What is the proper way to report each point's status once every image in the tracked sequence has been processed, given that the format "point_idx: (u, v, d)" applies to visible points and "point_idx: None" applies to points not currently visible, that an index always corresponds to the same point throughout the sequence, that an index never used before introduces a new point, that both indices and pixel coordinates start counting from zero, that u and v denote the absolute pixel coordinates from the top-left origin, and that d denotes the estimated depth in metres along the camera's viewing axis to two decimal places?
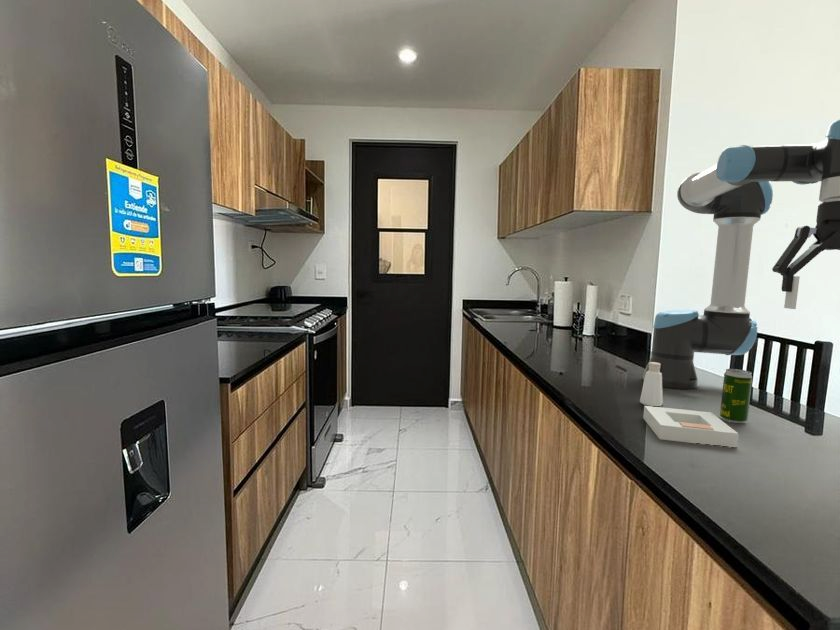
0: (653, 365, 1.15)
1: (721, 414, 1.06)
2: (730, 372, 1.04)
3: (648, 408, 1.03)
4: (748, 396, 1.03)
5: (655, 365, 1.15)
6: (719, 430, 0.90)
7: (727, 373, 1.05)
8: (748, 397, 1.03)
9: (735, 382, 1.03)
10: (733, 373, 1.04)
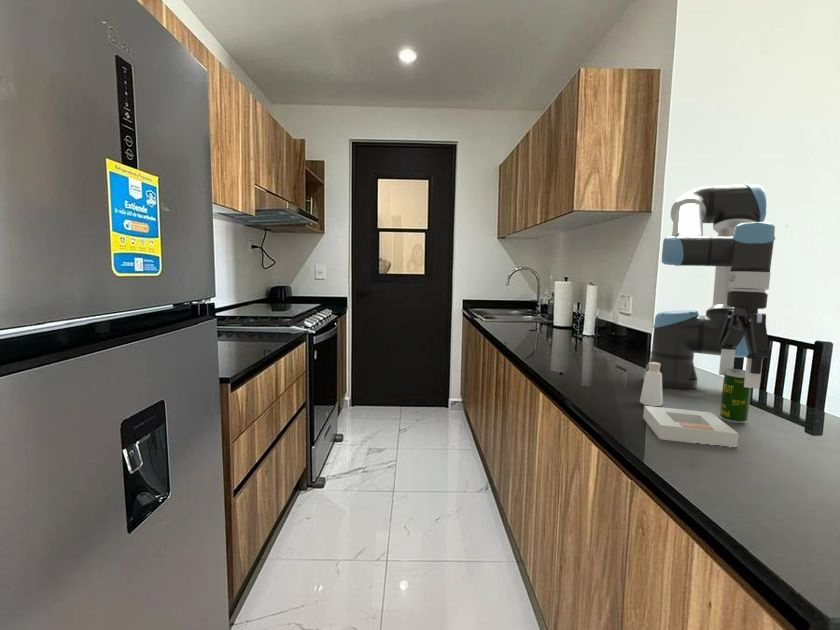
0: (653, 365, 1.15)
1: (721, 414, 1.06)
2: (730, 372, 1.04)
3: (648, 408, 1.03)
4: (748, 396, 1.03)
5: (655, 365, 1.15)
6: (719, 430, 0.90)
7: (727, 373, 1.05)
8: (748, 397, 1.03)
9: (735, 382, 1.03)
10: (733, 373, 1.04)
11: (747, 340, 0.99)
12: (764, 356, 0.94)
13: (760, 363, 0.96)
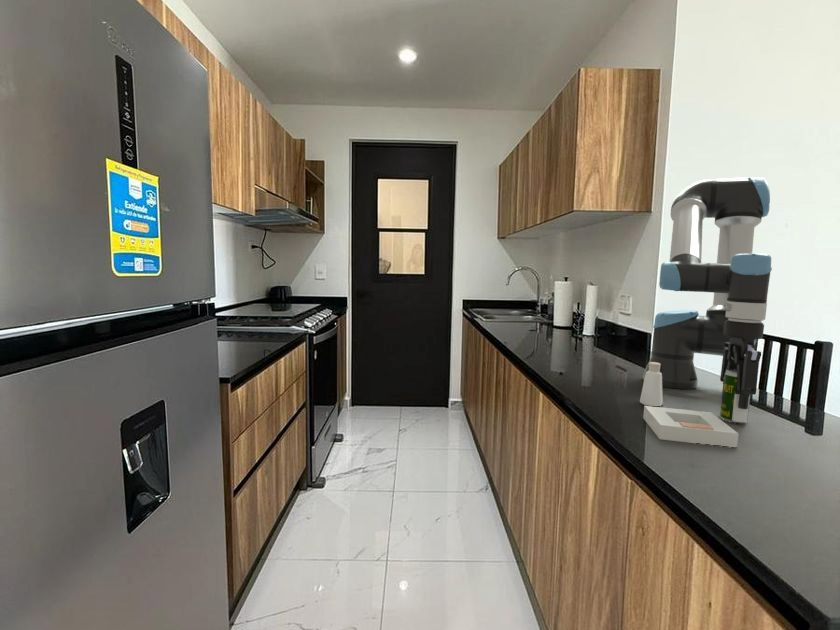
0: (653, 365, 1.15)
1: (721, 414, 1.06)
2: (730, 372, 1.04)
3: (648, 408, 1.03)
4: None
5: (655, 365, 1.15)
6: (719, 430, 0.90)
7: (727, 373, 1.05)
8: None
9: (735, 382, 1.03)
10: (733, 373, 1.04)
11: (738, 374, 1.02)
12: (751, 393, 0.99)
13: (747, 399, 1.01)
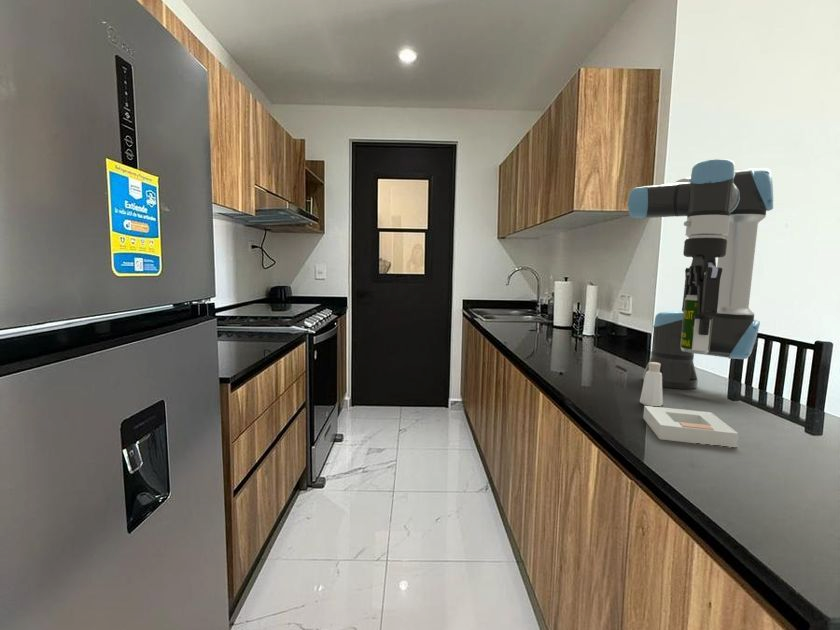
0: (653, 365, 1.15)
1: (681, 344, 0.95)
2: (690, 296, 0.93)
3: (648, 408, 1.03)
4: None
5: (655, 365, 1.15)
6: (719, 430, 0.90)
7: (687, 298, 0.94)
8: None
9: (695, 306, 0.92)
10: (693, 297, 0.93)
11: (698, 297, 0.91)
12: (711, 315, 0.88)
13: (708, 323, 0.90)
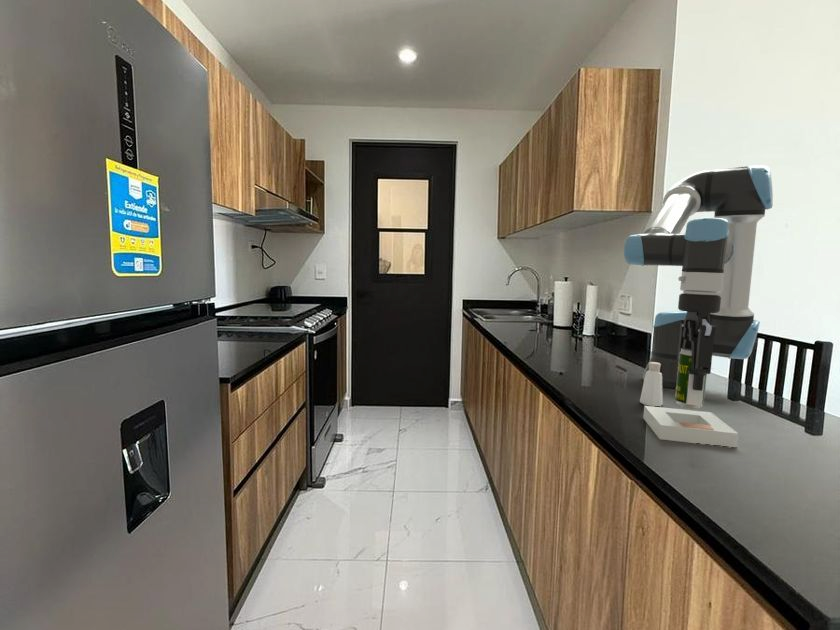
0: (653, 365, 1.15)
1: (676, 397, 0.96)
2: (685, 351, 0.94)
3: (648, 408, 1.03)
4: None
5: (655, 365, 1.15)
6: (719, 430, 0.90)
7: (682, 352, 0.95)
8: None
9: (689, 361, 0.93)
10: (688, 352, 0.94)
11: (693, 352, 0.92)
12: (705, 372, 0.89)
13: (702, 379, 0.91)
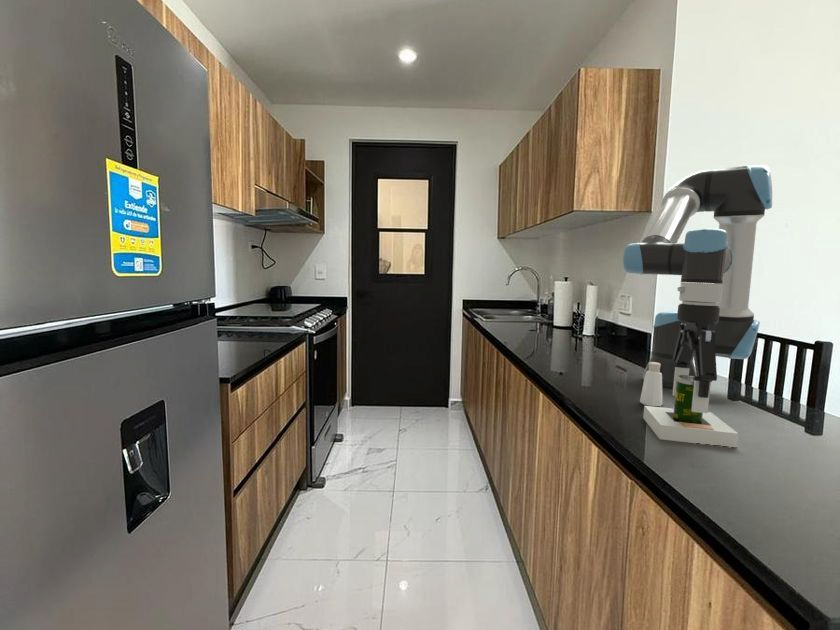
0: (653, 365, 1.15)
1: None
2: (681, 379, 0.95)
3: (648, 408, 1.03)
4: None
5: (655, 365, 1.15)
6: (719, 430, 0.90)
7: (679, 380, 0.96)
8: None
9: (686, 390, 0.94)
10: (684, 380, 0.94)
11: (695, 360, 0.90)
12: (711, 379, 0.86)
13: (707, 386, 0.88)
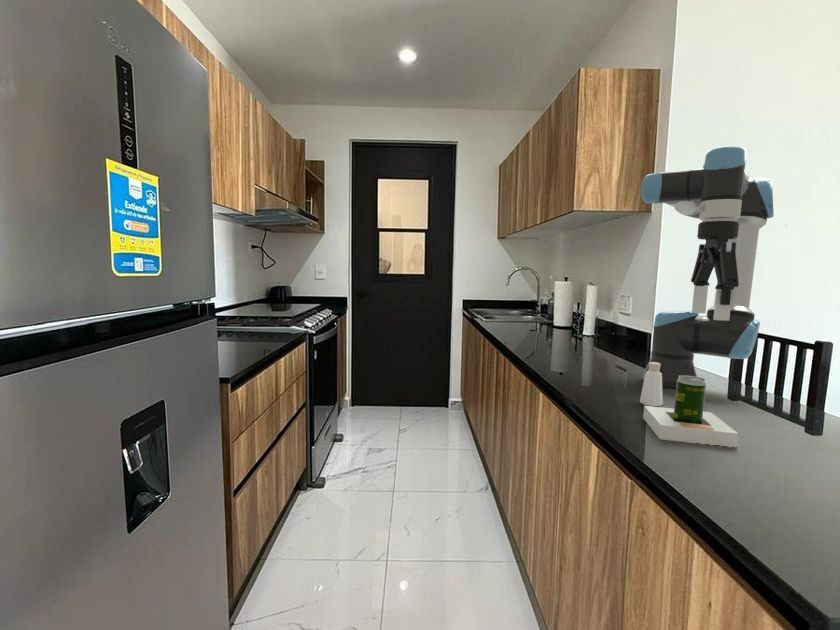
0: (653, 365, 1.15)
1: None
2: (682, 379, 0.95)
3: (648, 408, 1.03)
4: (701, 405, 0.94)
5: (655, 365, 1.15)
6: (719, 430, 0.90)
7: (679, 380, 0.96)
8: (701, 406, 0.94)
9: (686, 390, 0.94)
10: (685, 380, 0.94)
11: (717, 271, 0.95)
12: (733, 285, 0.90)
13: (729, 293, 0.92)
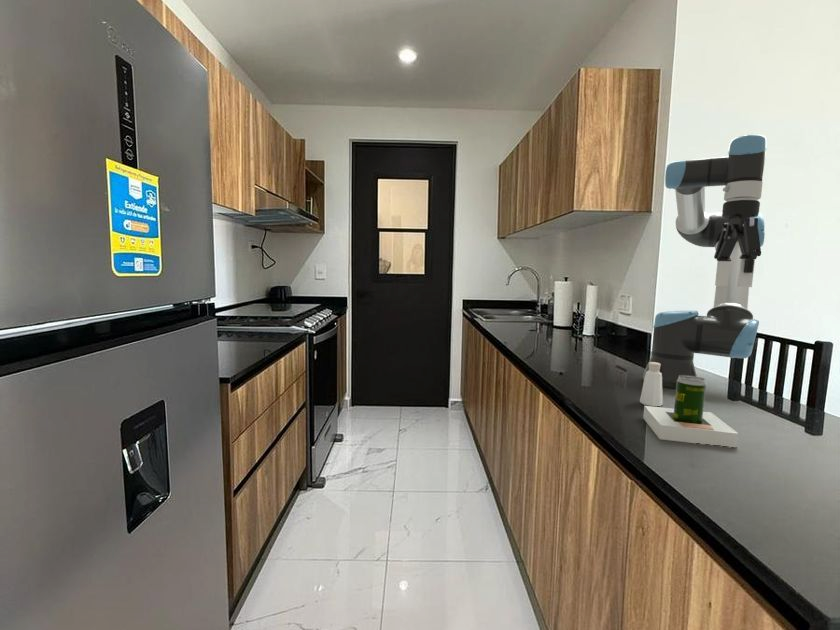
0: (653, 365, 1.15)
1: None
2: (682, 379, 0.95)
3: (648, 408, 1.03)
4: (701, 405, 0.94)
5: (655, 365, 1.15)
6: (719, 430, 0.90)
7: (679, 380, 0.96)
8: (701, 406, 0.94)
9: (686, 390, 0.94)
10: (685, 380, 0.94)
11: (740, 244, 1.07)
12: (756, 254, 1.03)
13: (752, 262, 1.04)
